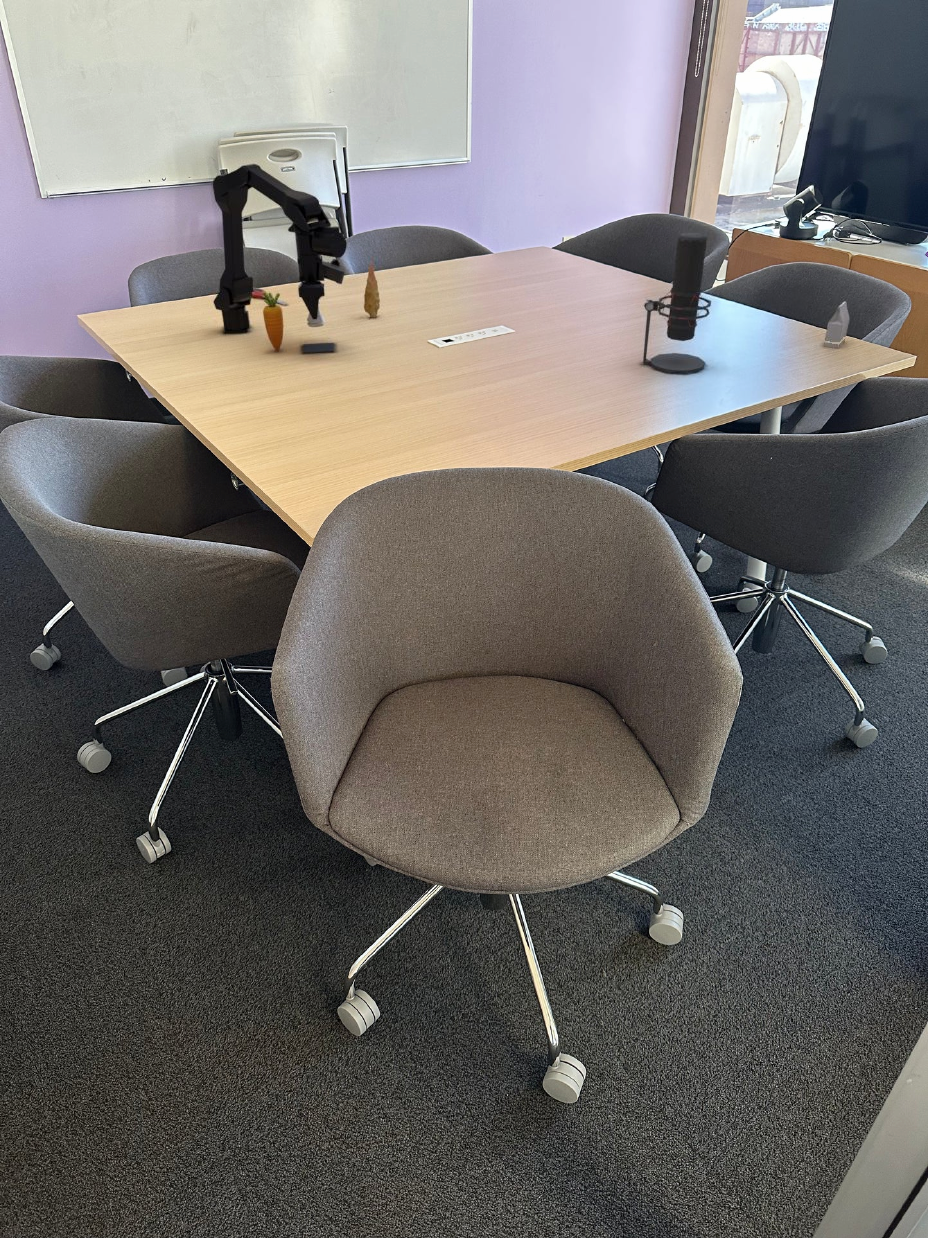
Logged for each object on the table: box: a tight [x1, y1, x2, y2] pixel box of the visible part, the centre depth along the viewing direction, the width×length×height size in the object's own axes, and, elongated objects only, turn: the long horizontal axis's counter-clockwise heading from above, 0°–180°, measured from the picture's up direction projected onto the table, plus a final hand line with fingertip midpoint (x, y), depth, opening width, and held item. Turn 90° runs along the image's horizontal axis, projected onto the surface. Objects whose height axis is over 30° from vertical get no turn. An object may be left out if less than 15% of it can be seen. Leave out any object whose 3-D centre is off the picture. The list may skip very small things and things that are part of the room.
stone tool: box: [363, 262, 381, 319], centre depth 254 cm, size 5×2×15 cm, turn 141°
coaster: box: [302, 342, 335, 355], centre depth 234 cm, size 8×7×1 cm
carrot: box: [262, 290, 284, 352], centre depth 229 cm, size 5×5×15 cm
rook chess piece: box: [306, 303, 325, 328], centre depth 229 cm, size 4×4×8 cm
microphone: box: [642, 232, 712, 375], centre depth 212 cm, size 14×13×30 cm
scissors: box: [251, 287, 287, 306], centre depth 277 cm, size 8×21×2 cm, turn 58°
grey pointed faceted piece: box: [823, 301, 851, 349], centre depth 230 cm, size 4×7×10 cm, turn 147°
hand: (315, 317), depth 230 cm, fingers closed on rook chess piece, 3 cm apart
